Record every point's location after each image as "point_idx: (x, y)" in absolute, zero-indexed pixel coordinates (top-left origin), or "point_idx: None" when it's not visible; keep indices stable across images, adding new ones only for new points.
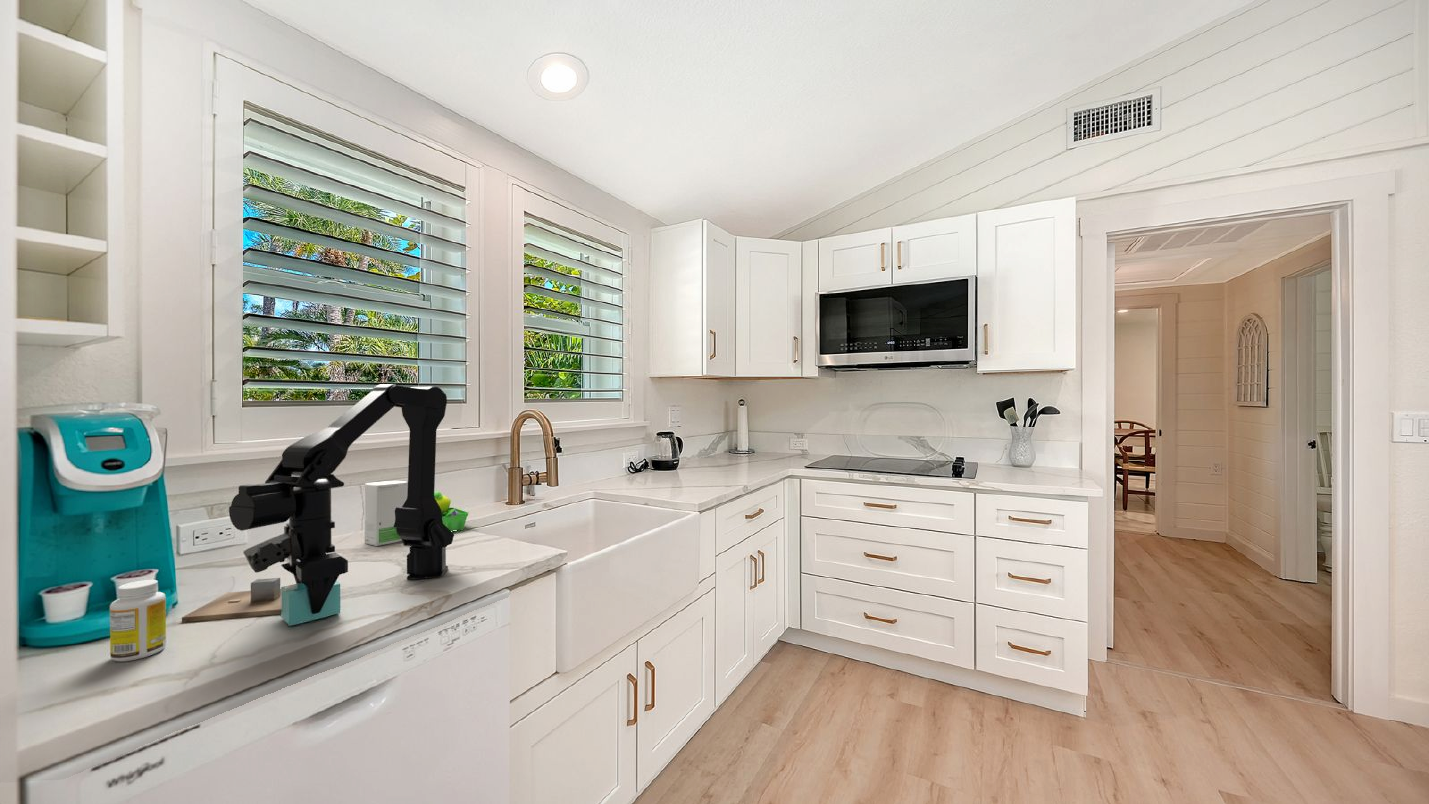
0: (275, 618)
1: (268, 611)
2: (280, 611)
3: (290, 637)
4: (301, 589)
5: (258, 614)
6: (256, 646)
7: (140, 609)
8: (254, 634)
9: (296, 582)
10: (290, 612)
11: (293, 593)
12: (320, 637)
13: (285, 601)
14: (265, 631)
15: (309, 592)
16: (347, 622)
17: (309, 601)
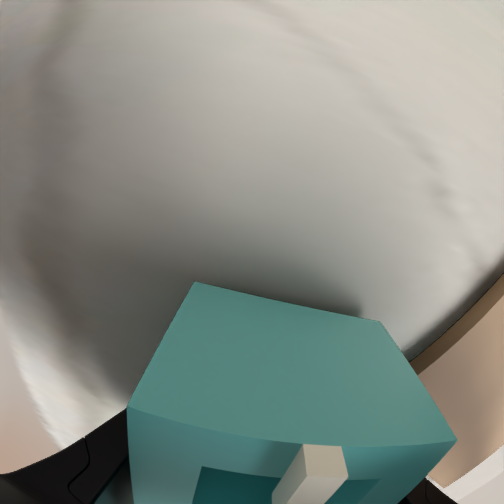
0: (416, 306)
1: (483, 312)
2: (445, 343)
3: (79, 225)
4: (342, 486)
5: (502, 281)
6: (103, 96)
7: None
8: (286, 147)
9: (429, 496)
10: (172, 322)
11: (141, 437)
12: (9, 282)
13: (298, 376)
14: (278, 196)
15: (55, 455)
16: (81, 397)
17: (126, 424)
